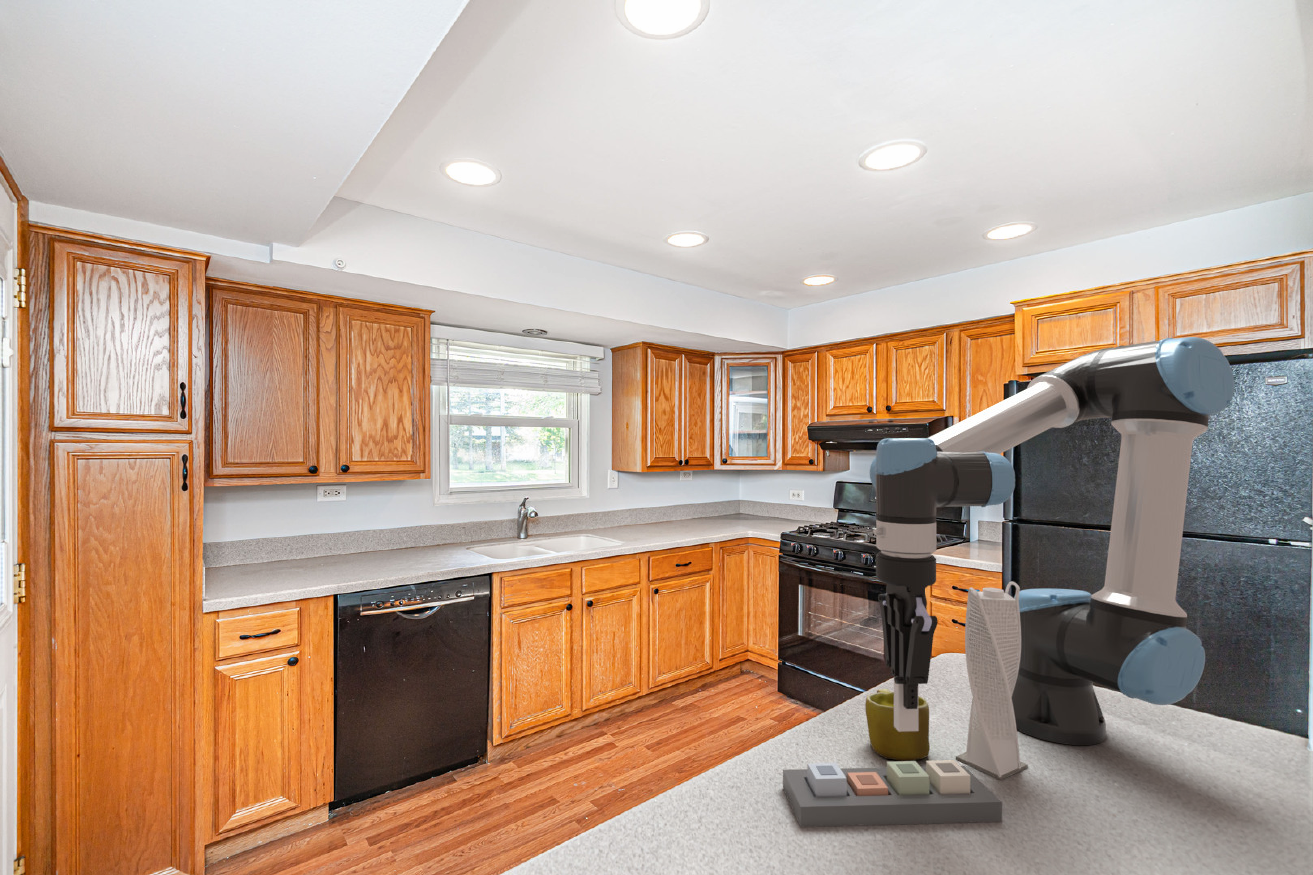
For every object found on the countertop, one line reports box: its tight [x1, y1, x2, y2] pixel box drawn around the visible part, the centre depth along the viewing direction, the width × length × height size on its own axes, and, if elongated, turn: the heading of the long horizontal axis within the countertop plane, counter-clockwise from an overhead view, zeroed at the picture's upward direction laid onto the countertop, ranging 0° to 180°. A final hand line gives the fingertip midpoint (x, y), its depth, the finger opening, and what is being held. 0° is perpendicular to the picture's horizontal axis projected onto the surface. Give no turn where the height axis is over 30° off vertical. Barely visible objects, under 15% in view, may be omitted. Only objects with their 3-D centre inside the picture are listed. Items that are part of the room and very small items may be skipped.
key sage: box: [886, 760, 929, 795], centre depth 84 cm, size 4×4×3 cm
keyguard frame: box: [782, 765, 1003, 828], centre depth 84 cm, size 26×9×2 cm, turn 93°
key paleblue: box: [806, 762, 847, 797], centre depth 84 cm, size 4×4×3 cm
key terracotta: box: [847, 772, 888, 796], centre depth 84 cm, size 4×4×3 cm
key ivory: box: [925, 759, 970, 794], centre depth 85 cm, size 4×4×3 cm
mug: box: [864, 688, 931, 761], centre depth 100 cm, size 12×10×10 cm
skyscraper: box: [955, 580, 1029, 781], centre depth 94 cm, size 8×8×28 cm
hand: (906, 728), depth 85 cm, fingers closed
